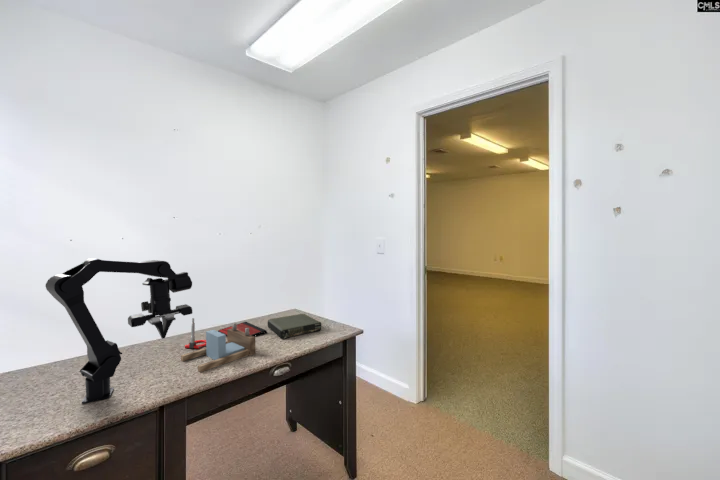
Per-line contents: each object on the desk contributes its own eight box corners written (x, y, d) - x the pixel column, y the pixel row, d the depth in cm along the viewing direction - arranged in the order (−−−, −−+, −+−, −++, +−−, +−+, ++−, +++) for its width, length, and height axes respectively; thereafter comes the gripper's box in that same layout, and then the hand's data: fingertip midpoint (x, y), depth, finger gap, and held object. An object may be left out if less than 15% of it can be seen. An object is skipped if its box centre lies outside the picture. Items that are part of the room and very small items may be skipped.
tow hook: (197, 341, 140) (182, 348, 131) (197, 313, 141) (183, 318, 131) (213, 342, 139) (200, 349, 130) (214, 314, 139) (200, 319, 130)
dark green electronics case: (284, 342, 140) (284, 331, 140) (261, 329, 157) (261, 320, 157) (325, 330, 156) (325, 320, 155) (301, 320, 173) (301, 311, 173)
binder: (246, 320, 164) (266, 329, 150) (246, 325, 165) (267, 334, 150) (215, 329, 153) (235, 339, 138) (216, 333, 153) (235, 344, 139)
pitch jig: (201, 373, 109) (200, 345, 108) (180, 359, 120) (179, 334, 119) (255, 353, 126) (255, 329, 125) (232, 343, 137) (232, 321, 136)
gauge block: (218, 362, 118) (218, 336, 117) (206, 355, 124) (205, 331, 124) (244, 353, 126) (244, 329, 126) (232, 347, 132) (231, 324, 132)
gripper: (181, 287, 121) (183, 326, 122) (122, 297, 107) (125, 340, 108) (191, 291, 114) (194, 332, 115) (130, 302, 100) (133, 349, 101)
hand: (163, 338), depth 110 cm, fingers closed
